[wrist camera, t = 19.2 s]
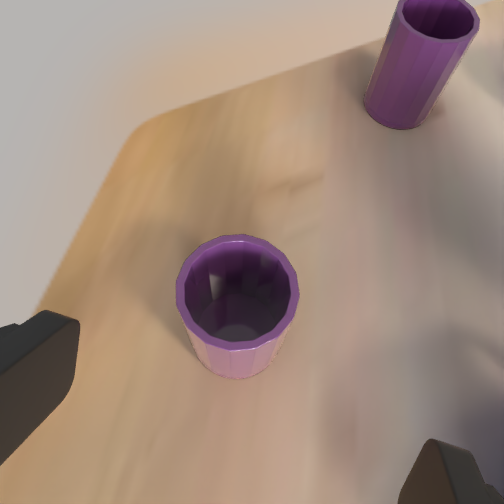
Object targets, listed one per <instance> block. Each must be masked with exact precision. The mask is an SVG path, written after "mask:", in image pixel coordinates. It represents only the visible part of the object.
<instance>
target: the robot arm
mask: <svg viewBox="0 0 504 504" xmlns="http://www.w3.org/2000/svg"><path fill="white" fill-rule="evenodd" d="M79 334H80V323H79V321H78V320H76V319H73V318H70V317H67V316H64V315H61V314H58V313H55V312H52V311H49V310H44V311H41V312H39V313H38V314H36V315H35V316H33V317H32V318H30V319H29V320H27V321H26V322H24V323H23V324H21V325H18V324H15V323H14V324H11V325H8V326H4V327H1V328H0V466H1V465H2V463H3V462H4V461H5V460H6V459H7V458H8V457H9V456H10V455H11V454H12V453H13V452H14V451H15V450H16V449H17V448H18V447H19V446H20V445H21V444H22V443H23V442H24V441H25V440H26V439H27V438H28V436H29V435H30V434H31V433H32V432H33V431H34V430H35V429H36V428H37V427H38V426H39V425H40V424H41V423H42V422H43V421H44V420H45V419H46V418H47V417H48V416H49V415H50V414H51V413H52V412H53V410H54V409H55V408H56V407H57V406H58V405H59V404H60V403H61V402H62V401H63V399H64V398H65V397H66V395H67V393H68V392H69V390H70V387H71V385H72V382H73V379H74V375H75V367H76V359H77V351H78V343H79ZM398 504H504V499H503V498H502V497H501V495H500V494H499V493H498V492H497V490H496V489H495V488H494V487H493V486H491V485H488V484H485V482H484V480H483V478H482V476H481V473H480V471H479V469H478V466H477V464H476V462H475V459H474V457H473V455H472V454H471V452H469V451H468V450H465V449H462V448H459V447H456V446H453V445H450V444H447V443H444V442H441V441H438V440H435V439H429V440H427V441H426V443H425V444H424V446H423V448H422V450H421V452H420V454H419V456H418V458H417V459H416V461H415V463H414V465H413V467H412V469H411V471H410V473H409V475H408V477H407V479H406V481H405V483H404V485H403V487H402V489H401V492H400V495H399V499H398Z"/></svg>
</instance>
